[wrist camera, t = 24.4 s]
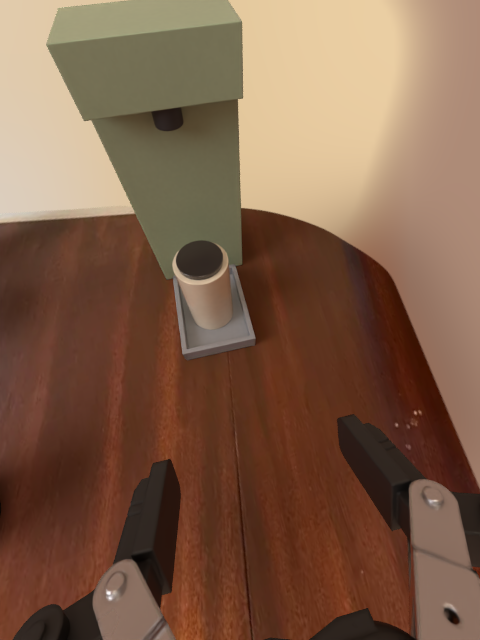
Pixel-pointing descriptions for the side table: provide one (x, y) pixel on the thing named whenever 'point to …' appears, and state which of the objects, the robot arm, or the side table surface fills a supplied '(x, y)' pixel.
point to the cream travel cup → (205, 283)
